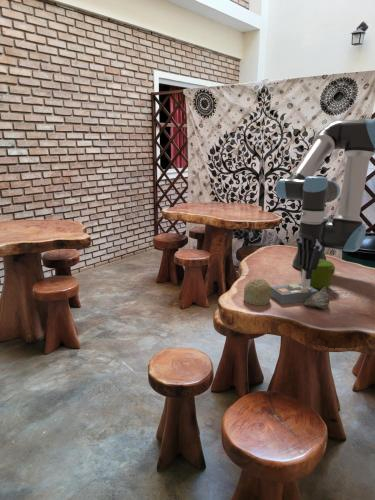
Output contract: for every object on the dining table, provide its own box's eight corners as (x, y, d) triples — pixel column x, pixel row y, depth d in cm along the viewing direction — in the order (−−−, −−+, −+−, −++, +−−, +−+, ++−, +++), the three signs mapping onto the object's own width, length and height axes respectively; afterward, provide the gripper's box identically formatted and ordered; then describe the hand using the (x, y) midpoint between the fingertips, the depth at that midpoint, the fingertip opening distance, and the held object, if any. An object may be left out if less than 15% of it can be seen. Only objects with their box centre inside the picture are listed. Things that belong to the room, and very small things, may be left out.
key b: (295, 289, 131) (296, 283, 131) (300, 292, 128) (301, 286, 128) (287, 289, 130) (288, 284, 130) (292, 293, 127) (293, 287, 127)
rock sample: (297, 289, 128) (318, 277, 123) (311, 300, 131) (332, 289, 126) (300, 311, 120) (323, 300, 115) (314, 323, 123) (337, 312, 118)
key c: (284, 293, 130) (285, 288, 130) (289, 296, 127) (289, 291, 127) (276, 294, 130) (277, 288, 129) (281, 297, 127) (281, 292, 126)
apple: (294, 281, 147) (297, 254, 144) (323, 280, 148) (326, 254, 145) (307, 292, 135) (310, 263, 132) (338, 292, 136) (342, 263, 133)
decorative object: (255, 316, 123) (274, 296, 119) (234, 296, 126) (251, 275, 122) (263, 309, 131) (281, 289, 127) (242, 290, 134) (259, 270, 130)
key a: (305, 291, 133) (306, 285, 132) (310, 294, 130) (311, 288, 129) (298, 291, 132) (298, 286, 131) (303, 295, 129) (303, 289, 128)
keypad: (304, 291, 136) (305, 282, 135) (317, 299, 128) (318, 289, 127) (270, 295, 132) (270, 285, 131) (281, 304, 124) (282, 293, 123)
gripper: (291, 219, 129) (286, 281, 135) (313, 226, 117) (306, 294, 123) (309, 218, 131) (303, 279, 137) (333, 225, 119) (325, 291, 125)
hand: (305, 286), depth 130 cm, fingers closed
